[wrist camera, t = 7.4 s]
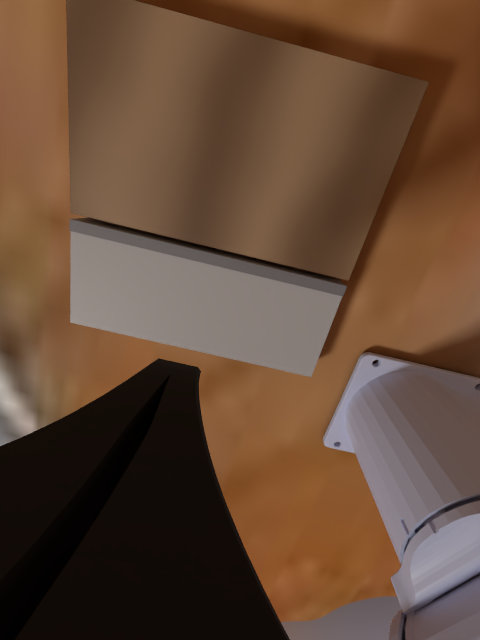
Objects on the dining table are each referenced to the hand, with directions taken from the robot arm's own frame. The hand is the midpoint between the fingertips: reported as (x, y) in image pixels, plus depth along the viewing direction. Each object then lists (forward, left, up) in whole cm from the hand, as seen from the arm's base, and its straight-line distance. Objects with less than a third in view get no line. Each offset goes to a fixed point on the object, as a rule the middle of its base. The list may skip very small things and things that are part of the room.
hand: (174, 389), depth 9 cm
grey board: (0, 0, -9) cm, 9 cm away
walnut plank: (+1, -8, -9) cm, 12 cm away
